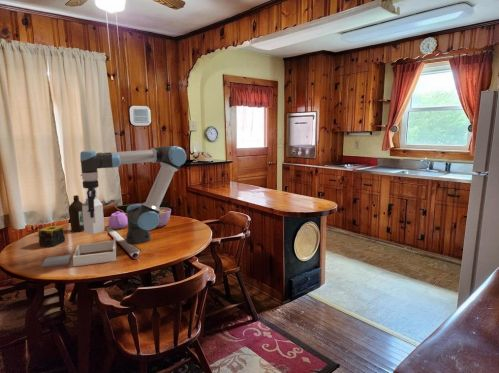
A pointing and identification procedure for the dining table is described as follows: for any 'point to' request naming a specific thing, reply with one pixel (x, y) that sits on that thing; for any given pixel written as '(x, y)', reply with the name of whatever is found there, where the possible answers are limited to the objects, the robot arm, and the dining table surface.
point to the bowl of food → (163, 216)
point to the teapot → (118, 220)
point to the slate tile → (56, 261)
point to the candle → (51, 236)
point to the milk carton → (99, 217)
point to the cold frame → (97, 257)
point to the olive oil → (76, 215)
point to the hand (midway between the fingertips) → (93, 220)
